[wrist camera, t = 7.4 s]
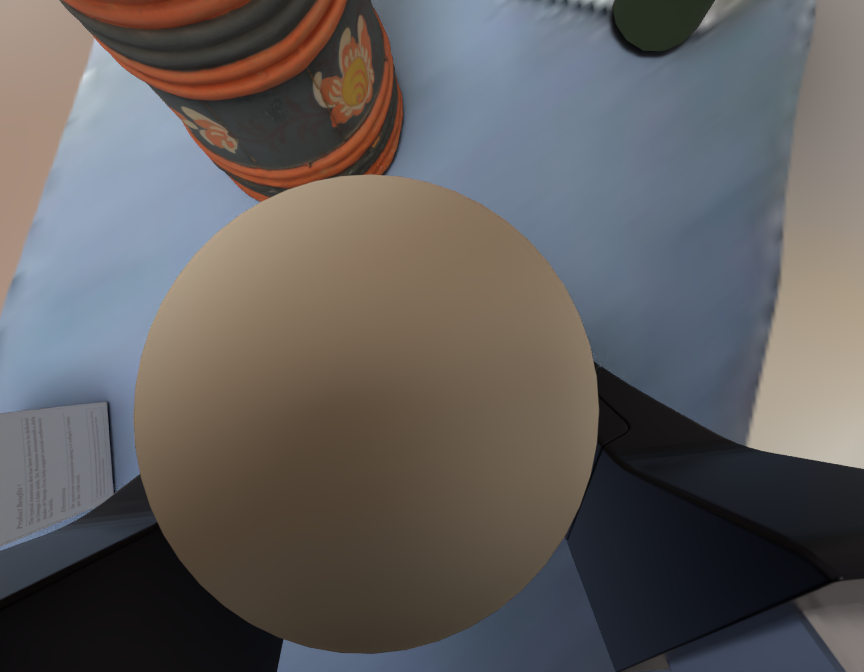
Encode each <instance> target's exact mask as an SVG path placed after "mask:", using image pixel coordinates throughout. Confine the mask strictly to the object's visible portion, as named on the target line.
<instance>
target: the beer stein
mask: <svg viewBox="0 0 864 672" xmlns="http://www.w3.org/2000/svg"><path fill="white" fill-rule="evenodd" d="M60 1H61V3H62V4H63V5H64V6H65V8H67V10H68V11H69V12H70V13H71V14H72V15H74V16H75V17H76V18H77V19H78V20H79V21H80V22H81V23H82V24H83V26H84V27H85V28H86V29H87V30H88V31H89V32H90V33H91V34H92V35H93V36H94V38H95V39H96V40H97V41H98V43H99V44H100V45H101V46H102V47H103V48H104V49H105V50H106V51H108V52H109V53H110V54H111V55H112V57H113V58H114V59H115V60H116V61H117V62H118V63H119V64H120V65H121V66H122V67H123V68H125V69H126V70H127V71H128V72H130V73H131V74H133V75H134V76H136V77H137V78H139V79H140V80H142V81H144V82H146V83H147V84H148V85H149V86H150V87H151V88H152V89H153V91H154V92H155V93H156V94H157V95H158V96H159V97H160V98H161V99H162V100H163V101H164V102H165V103H166V105H167V106H168V107H169V108H170V109H171V110H172V111H173V112H174V113H175V114H176V115H177V116H178V117H179V118H180V119H181V120H182V122H183V124H184V125H185V127H186V129H187V131H188V132H189V134H190V135H191V137H192V138H193V140H194V141H195V142H196V143H197V145H198V146H199V147H200V148H201V149H202V150H203V151H204V152H205V153H206V155H207V156H208V157H209V158H210V159H211V160H212V161H213V163H214V164H215V165H216V166H217V167H218V168H219V169H221V170H222V171H224V172H225V173H226V174H227V175H228V176H229V177H230V178H231V179H232V180H233V181H234V182H235V184H236V185H237V186H238V187H239V188H240V189H242V190H243V191H244V192H245V193H246V194H248V195H249V196H250V197H252V198H254V199H256V200H258V201H260V202H262V201H264V200H266V199H268V198H271V197H273V196H275V195H277V194H279V193H282V192H284V191H286V190H288V189H292V188H295V187H298V186H301V185H304V184H308V183H311V182H314V181H319V180H324V179H330V178H335V177H341V176H354V175H382V174H383V173H384V172H385V171H386V170H387V169H388V167H389V166H390V164H391V162H392V161H393V156H394V153H395V151H396V149H397V145H398V141H399V135H400V131H401V125H402V119H403V110H402V106H403V100H402V93H401V91H400V88H399V84H398V82H397V78H396V75H395V68H394V65H393V58H392V55H391V48H390V42H389V39H388V36H387V34H386V32H385V30H384V28H383V25H382V23H381V21H380V19H379V17H378V15H377V13H376V11H375V10H374V8H373V7H372V4H371V0H60Z"/></svg>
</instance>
